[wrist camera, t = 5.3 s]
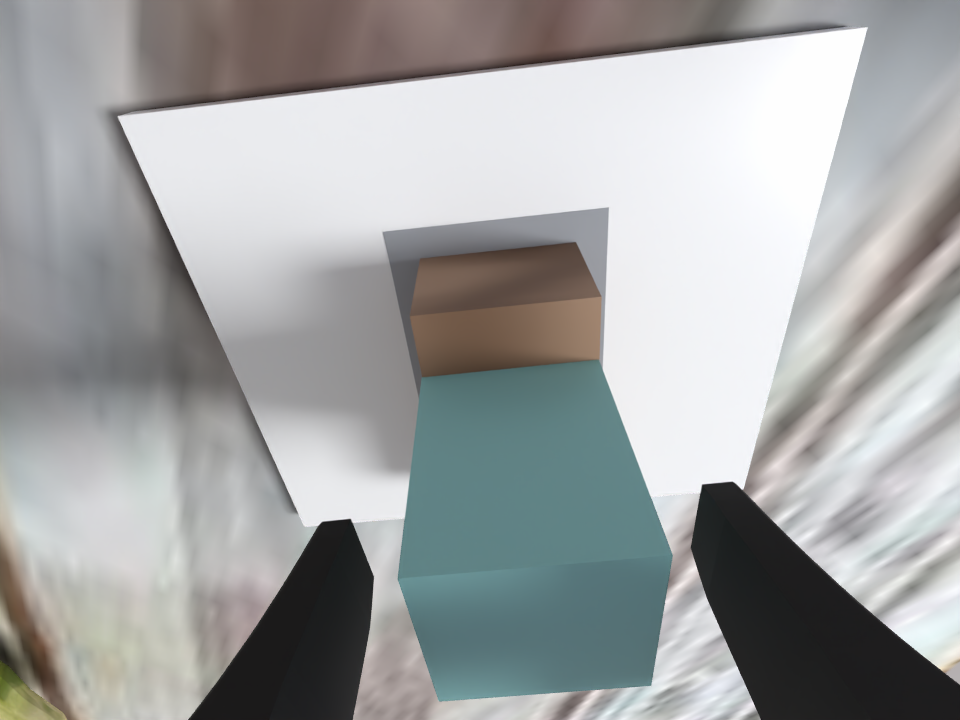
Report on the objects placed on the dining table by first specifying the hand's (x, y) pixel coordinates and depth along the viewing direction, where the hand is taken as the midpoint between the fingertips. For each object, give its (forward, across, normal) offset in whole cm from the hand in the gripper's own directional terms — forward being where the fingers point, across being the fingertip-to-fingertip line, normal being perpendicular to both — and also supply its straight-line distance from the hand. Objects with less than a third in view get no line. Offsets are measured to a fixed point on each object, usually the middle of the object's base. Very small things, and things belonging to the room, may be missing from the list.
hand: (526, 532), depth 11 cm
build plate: (+6, 0, -1) cm, 6 cm away
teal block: (+3, 0, 0) cm, 3 cm away
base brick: (+6, 0, 0) cm, 6 cm away
